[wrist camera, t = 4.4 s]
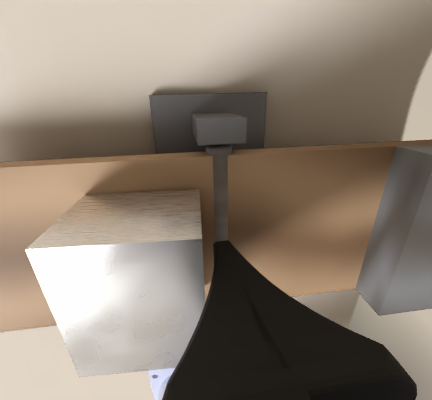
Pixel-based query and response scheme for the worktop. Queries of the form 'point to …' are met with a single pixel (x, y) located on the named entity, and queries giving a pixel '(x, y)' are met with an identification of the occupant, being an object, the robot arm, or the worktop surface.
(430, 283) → the beam
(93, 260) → the steel block
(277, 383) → the robot arm
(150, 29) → the worktop surface
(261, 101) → the stand
